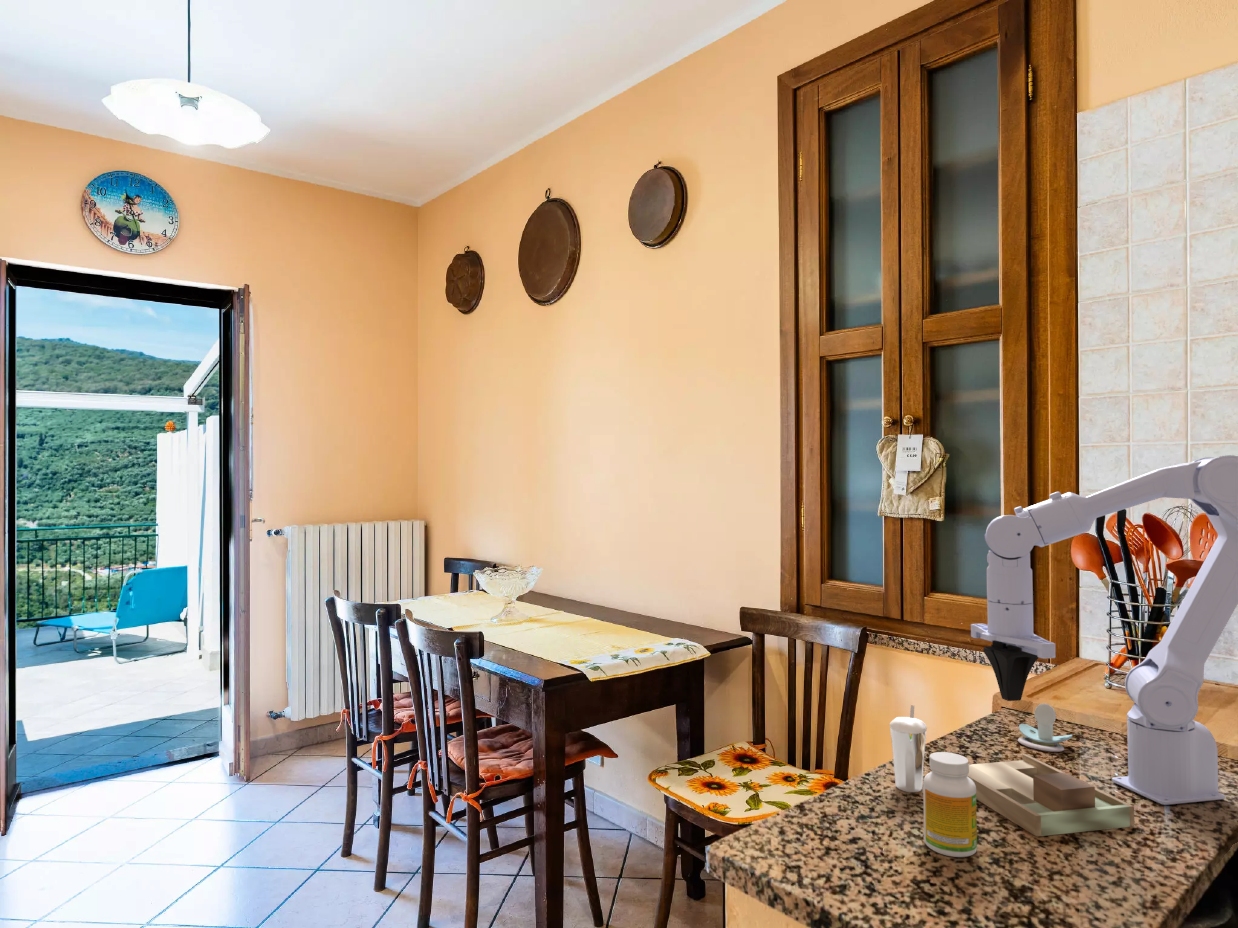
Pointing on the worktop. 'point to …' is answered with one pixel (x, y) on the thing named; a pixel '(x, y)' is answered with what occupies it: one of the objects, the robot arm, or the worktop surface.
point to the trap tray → (1014, 799)
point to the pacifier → (1042, 731)
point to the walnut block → (1063, 792)
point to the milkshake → (908, 751)
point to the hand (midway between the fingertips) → (1011, 699)
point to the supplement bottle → (950, 806)
